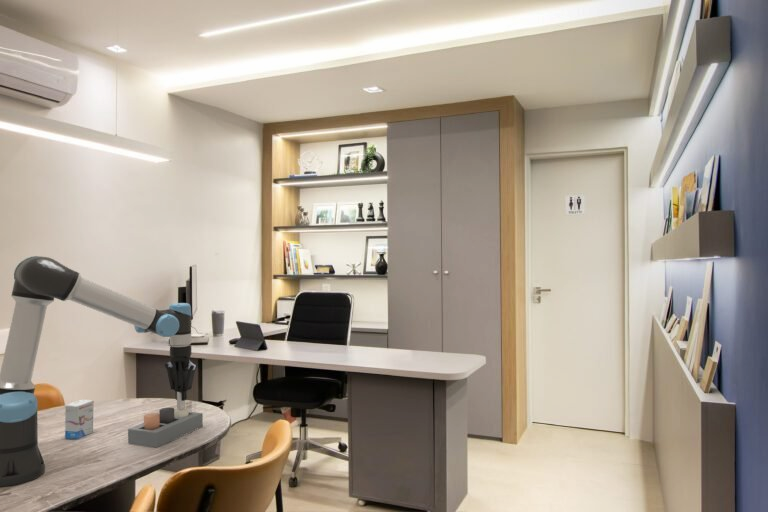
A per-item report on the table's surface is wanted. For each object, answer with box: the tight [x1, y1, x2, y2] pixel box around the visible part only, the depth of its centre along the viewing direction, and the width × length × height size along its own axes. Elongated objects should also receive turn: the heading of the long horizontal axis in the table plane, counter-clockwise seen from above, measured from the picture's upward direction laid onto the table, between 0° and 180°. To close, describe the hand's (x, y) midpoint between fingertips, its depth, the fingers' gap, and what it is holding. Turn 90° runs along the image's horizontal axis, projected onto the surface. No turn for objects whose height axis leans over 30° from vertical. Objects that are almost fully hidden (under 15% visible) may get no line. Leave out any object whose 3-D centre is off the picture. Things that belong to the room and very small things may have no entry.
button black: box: [158, 407, 175, 424], centre depth 202 cm, size 5×5×6 cm
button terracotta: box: [143, 412, 160, 430], centre depth 195 cm, size 5×5×6 cm
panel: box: [127, 411, 204, 448], centre depth 202 cm, size 24×12×5 cm, turn 160°
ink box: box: [64, 399, 95, 440], centre depth 202 cm, size 9×5×12 cm, turn 168°
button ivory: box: [174, 407, 189, 418], centre depth 209 cm, size 5×5×6 cm
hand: (181, 408), depth 209 cm, fingers closed
